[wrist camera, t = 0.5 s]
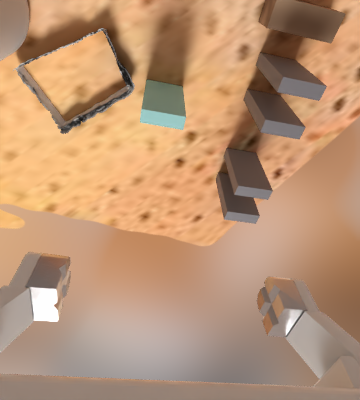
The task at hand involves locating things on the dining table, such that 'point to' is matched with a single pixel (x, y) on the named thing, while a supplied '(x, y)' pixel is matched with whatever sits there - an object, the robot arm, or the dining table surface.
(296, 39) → the dining table surface
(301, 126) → the domino
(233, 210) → the domino
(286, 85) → the domino
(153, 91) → the teal domino
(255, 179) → the domino
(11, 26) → the cylinder vase
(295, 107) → the dining table surface
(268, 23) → the end block
